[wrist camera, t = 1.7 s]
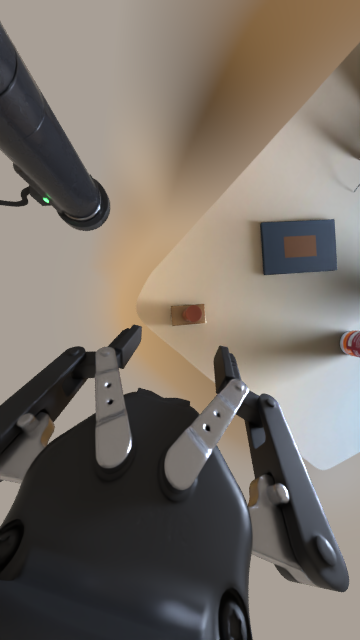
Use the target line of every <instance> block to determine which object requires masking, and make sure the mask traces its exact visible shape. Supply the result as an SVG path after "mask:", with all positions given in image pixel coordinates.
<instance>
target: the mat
mask: <svg viewBox="0 0 360 640" xmlns="http://www.w3.org/2000/svg"><path fill="white" fill-rule="evenodd" d="M260 227H261V242H262V256H263V271H264V275H273V274H289V273H304V272H320V271H335V270H337V256H336V239H335V222H334V219H331V220H308V221H284V222H262V223H261V224H260Z"/></svg>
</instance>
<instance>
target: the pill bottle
mask: <svg viewBox="0 0 360 640" xmlns="http://www.w3.org/2000/svg"><path fill="white" fill-rule="evenodd" d="M340 346H341V349H342V351H343V352H344V353H346V354H348V355H351V356H356V357H360V331H348V332H346V333H345V334H343V336H342V337H341V340H340Z"/></svg>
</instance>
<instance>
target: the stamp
mask: <svg viewBox="0 0 360 640" xmlns="http://www.w3.org/2000/svg"><path fill="white" fill-rule="evenodd" d="M171 316H172V326H176V325H188V324H200V323H206V320H205V307H204V304H197V305H183V306H171Z"/></svg>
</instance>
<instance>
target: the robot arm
mask: <svg viewBox="0 0 360 640" xmlns="http://www.w3.org/2000/svg"><path fill="white" fill-rule="evenodd" d="M0 150H1V151H2V152H3V153H4V154H5V155H6V156H7V157H8V158H9V159H10V160H11V161H12V162H13V167H14V170H15V171H16V172H17V173H18V174H19V175H20V176H21V177H22V178H23V179H24V180H25V181H26V182H27V183H28V184H29V187H27V188H25V189H23V190H22V192H21V197H22V200H21V201H18V202H10V201H2V200H0V205H5V206H16V207H17V206H18V207H19V206H25V205H27V204H28V199H27V195H28V194H30V195H31V196H32V197H33V198H34V199H35V200H37V201H38V202H39V203H40V204H41V205H42V206H47V205H52V206H53V207H54V208H55V209H56V210H57V211H58V212H59V213H60V214H61V215H63V216H64V215H66V216H68V217H69V218H71V219H73V220H75V221H79V222H85V221H89V220H92V219H93V218H95V217H96V216H97V215H98V214H99V212H100V210H101V208H102V196H101V194H100V192H99V190H98V188H97V187H96V185H95V183H94V182H93V178H92V176H91V175H89V173H88V172H87V170H86V168H85V167H84V165H83V163H82V162H81V160H80V158H79V157H78V154H77V153H76V151H75V149H74V148H73V146H72V144H71V142H70V141H69V139H68V137H67V136H66V134H65V132H64V130H63V129H62V127H61V125H60V124H59V122H58V120H57V119H56V117H55V115H54V113H53V112H52V110H51V108H50V106H49V105H48V103H47V101H46V99H45V98H44V96H43V94H42V93H41V91H40V89H39V88H38V86H37V84H36V82H35V81H34V79H33V77H32V76H31V74H30V72H29V70H28V69H27V67H26V65H25V63H24V62H23V60H22V58H21V57H20V55H19V53H18V51H17V50H16V48H15V46H14V45H13V43H12V41H11V39H10V38H9V36H8V34H7V32H6V31H5V29H4V27H3V25H2V24H1V22H0ZM141 332H142V327H141V326H138V325H133V326H132V327H131V328H130V329H129V328H127V329H125V330H123V331H122V332H121V333H120V334H119V335H118V336H117V337H116V338H115V339H114V340H113V342H112V343H111V344H110V345H109V346H108V347H103V348H101V349H99V350H98V351H97V352H85V349H84V348H83V347H79V346H78V347H72V348H69V349H67V350H66V351H65V352H64V353H62V354H61V355H60V356H59V357H58V358H56V359H55V360H54V361H53V362H52V363H50V364H49V365H48V366H47V367H46V368H44V369H43V370H42V371H41V372H40V373H38V374H37V375H36V376H35V377H34V378H33V379H31V380H30V381H29V382H28V383H27V384H25V385H24V386H23V387H22V388H21V389H19V390H18V391H17V392H16V393H15V394H14V395H12V396H11V397H10V398H9V399H7V400H6V401H5V402H4V403H3V404H2V405H0V482H1V481H3V480H5V481H10V482H15V483H21V486H20V489H19V492H18V494H17V496H16V499H15V501H14V503H13V505H12V507H11V509H10V511H9V513H8V515H7V516H6V518H5V520H4V522H3V523H2V525H1V526H0V640H253V639H252V632H251V625H250V618H249V604H248V583H249V567H250V560H251V554H252V555H255V556H257V557H259V558H262V559H264V560H266V561H269V562H271V563H273V564H274V565H275V567H276V568H277V570H278V571H279V572H280V574H281V575H282V576H283V577H284V578H286V579H287V580H289V581H292V582H297V583H301V584H306V585H311V586H315V587H320V588H324V589H329V590H334V591H338V592H345V591H346V590H347V589H348V586H349V576H348V571H347V568H346V564H345V561H344V559H343V556H342V554H341V552H340V550H339V547H338V544H337V542H336V540H335V537H334V535H333V532H332V530H331V528H330V525H329V523H328V520H327V518H326V516H325V513H324V511H323V508H322V506H321V504H320V501H319V499H318V496H317V494H316V492H315V489H314V487H313V484H312V482H311V480H310V477H309V475H308V472H307V470H306V468H305V465H304V463H303V460H302V458H301V456H300V453H299V451H298V448H297V446H296V444H295V441H294V439H293V436H292V434H291V432H290V429H289V427H288V424H287V422H286V419H285V417H284V415H283V412H282V410H281V407H280V405H279V404H278V402H277V401H276V400H275V399H274V398H273V397H272V396H270V395H268V394H261V395H260V396H258V395H257V394H255V393H253V392H251V391H249V390H248V387H247V386H246V384H245V383H244V382H243V381H241V377H240V373H239V370H238V367H237V362H236V359H235V357H234V356H233V354H231V353H229V350H228V347H224V346H219V348H218V350H217V352H216V355H215V357H214V372H215V384H216V393H217V395H216V397H215V398H214V399H213V400H212V401H211V402H210V404H209V405H208V406H207V407H206V408H205V409H204V410H203V412H202V413H201V414H199V413H198V412H197V411H196V410H195V409H194V408H192V407H191V406H190V401H187V400H183V399H179V398H163V397H161V396H159V395H157V394H155V393H154V392H152V391H149V390H145V389H141V388H139V389H138V391H137V392H131V393H128V394H125V395H123V390H122V384H121V379H120V373H119V368H121V369H124V367H125V365H126V364H127V362H128V361H129V359H130V358H131V356H132V355H133V353H134V352H135V350H136V349H137V347H138V345H139V344H140V342H141ZM88 378H95V398H96V413H95V414H93V415H92V416H90V417H88V418H87V419H85V420H84V421H82V422H80V423H79V424H77V425H76V426H74V427H73V428H71V429H70V430H68V431H67V432H65V433H63V434H62V435H60V436H59V437H57V438H56V439H54V440H53V441H52V442H50V443H49V444H48V441H49V439H50V437H51V435H52V433H53V432H54V428H55V426H54V423H53V422H54V421H55V420H56V418H57V417H58V416H59V415H60V413H61V412H62V411H63V410H64V408H65V407H66V406H67V405H68V403H69V402H70V400H71V399H72V398H73V397H74V396H75V394H76V393H77V392H78V391H79V389H80V388H81V386H82V385H83V384H84V383H85V382H86V380H87V379H88ZM235 414H236V415H238V416H240V417H241V418H243V419H244V420H245V425H246V431H247V436H248V441H249V447H250V453H251V458H252V464H253V470H254V474H255V480H253V481H252V482H251V484H250V487H249V495H250V498H249V503H248V506H247V503H246V500H245V498H244V495H243V493H242V491H241V489H240V487H239V486H238V484H237V482H236V480H235V478H234V476H233V475H232V473H231V471H230V469H229V467H228V465H227V463H226V462H225V460H224V458H223V456H222V454H221V452H220V450H219V449H218V447H217V445H216V444H217V443H218V441H219V440H220V438H221V436H222V435H223V433H224V431H225V430H226V428H227V427H228V425H229V423H230V422H231V420H232V419H233V417H234V415H235ZM47 444H48V445H47Z"/></svg>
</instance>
